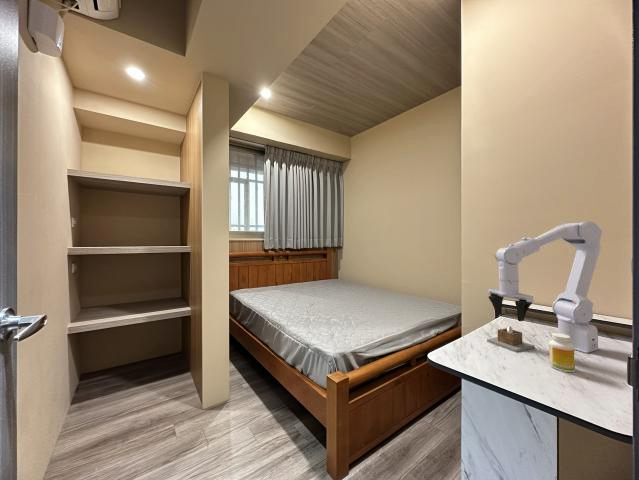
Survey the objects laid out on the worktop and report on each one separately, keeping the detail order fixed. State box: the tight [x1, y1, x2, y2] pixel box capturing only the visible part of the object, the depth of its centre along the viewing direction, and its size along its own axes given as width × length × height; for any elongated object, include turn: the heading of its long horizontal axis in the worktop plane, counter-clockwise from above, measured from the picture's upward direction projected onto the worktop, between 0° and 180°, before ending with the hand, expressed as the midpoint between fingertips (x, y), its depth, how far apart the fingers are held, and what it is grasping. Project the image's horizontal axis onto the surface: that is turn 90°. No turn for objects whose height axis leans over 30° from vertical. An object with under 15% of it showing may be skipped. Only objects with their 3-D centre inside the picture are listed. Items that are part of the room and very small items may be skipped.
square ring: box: [497, 327, 523, 346], centre depth 92 cm, size 5×5×4 cm
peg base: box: [486, 325, 536, 353], centre depth 92 cm, size 10×10×7 cm
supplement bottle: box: [548, 332, 576, 373], centre depth 74 cm, size 5×5×10 cm
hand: (509, 317), depth 92 cm, fingers open, 7 cm apart
